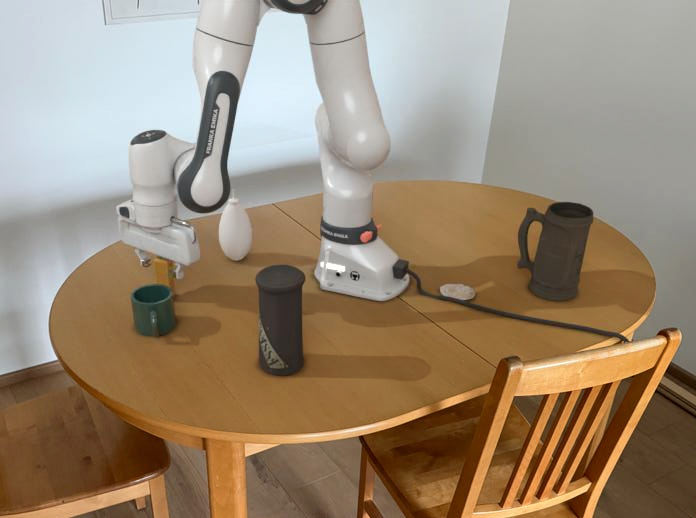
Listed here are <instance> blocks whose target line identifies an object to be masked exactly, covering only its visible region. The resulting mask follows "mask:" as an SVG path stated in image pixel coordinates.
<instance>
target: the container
mask: <svg viewBox="0 0 696 518" xmlns="http://www.w3.org/2000/svg"><path fill="white" fill-rule="evenodd" d="M254 280H255V284H256V286H257V287H258V289H257V290H258V291H257V292H258V294H257V295H258V365H259V367H260V369H261V370H262V371H264V372H265V373H266V374H270V375H273V376H280V377H281V376H282V377H283V376H290V375H291V376H292V375H294V374H296V373H298V372H299V371H300V370H301V369H302V368H303V366H304V342H303V340H304V338H303V337H304V336H303V286H304V284H305V282H306V274H305V273H304V272H303V270H301V268H298V267H296V266H293V265H290V264H273V265H269V266H265V267H264V268H262V269H260V270H259V271H258V272H257V273H256V275H255V279H254Z"/></svg>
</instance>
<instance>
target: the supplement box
mask: <svg viewBox="0 0 696 518" xmlns="http://www.w3.org/2000/svg"><path fill="white" fill-rule="evenodd" d="M173 270H174V261H172V260H169V259H166V258H163V257H160V256H158V255H156V257H155V258H154V259H153V271H154V278H155V279H154V282H155V284H161V285H165V286H168V287H169V288H171V289H172V291H173V298H175V295H176V291H175V290H176V289H175V288H176V287H175V278H174V277H173Z"/></svg>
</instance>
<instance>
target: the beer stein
mask: <svg viewBox="0 0 696 518" xmlns="http://www.w3.org/2000/svg"><path fill="white" fill-rule="evenodd" d="M534 222H538V223H540V224H541V232H540V235H539V237H538V242H537V247H536V251H535V256H534V260H533V261H532V260H531V259H530V254H529V243H528V242H529V241H528V235H529V229H530V226H531V224H533V223H534ZM593 223H594V211H593V209H592V208H591V207H589V206H587V205H585V204H582V203H580V202H571V201H558V202H557V201H556V202H552V203H551V204H549V205H548V206H547V209H546V211H545V212H544V213H542V212H540V211H538V210H537V209H536V208H535V207H527V209H526V213H525V216H524V218H523V220H522V222H521V223H520V225H519V228H518V232H517V244H518V249H519V254H520V258H519V260H518V261H517V263H516V268H517V269H525V270H528V271H529V272H530V274H531V278H530V280H529V282H528V288H529V291H530V292H531V293H532V294H534V295H535V296H536V297H538V298H541V299H545V300H548V301H555V302H564V301H569V300H572V299H574V298H575V297H577V294H578V289H579V287H578V286H579V284H580V283H581V279H580V276H581V271H582V267H583V262H584V258H585V253H586V247H587V242H588V238H589V234H590V229H591V225H593Z"/></svg>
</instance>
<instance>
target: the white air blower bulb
mask: <svg viewBox="0 0 696 518" xmlns="http://www.w3.org/2000/svg"><path fill="white" fill-rule="evenodd" d="M240 202H241V201H240V199H239V198H237V197H236V196H235V188H233V189H232V197H231V198H228V200H227V203H226V206H225V207H224V209H223V210H222V214H221V216H220V220H219V225H218V241H219V245H220V248H221V250H222V252H223V253H224V255H225V256H226V257H227V258H229V259H230V260H232V261H235V262H236V261H237V262H238V261H240V260H243V259H244V258H245V257H247V256H248V254H249V252H250V250H251V247H252V243H253V228H252V224H251V219H250V217H249V215H248V213H247V211H246V209H245V207H244V206H243V204H242V203H240Z"/></svg>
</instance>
